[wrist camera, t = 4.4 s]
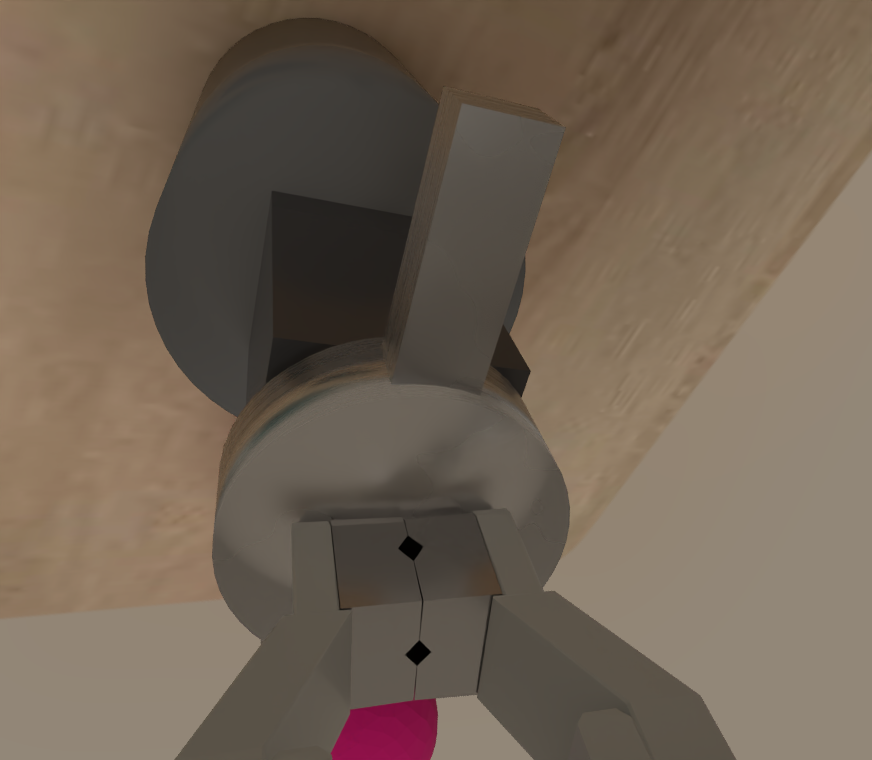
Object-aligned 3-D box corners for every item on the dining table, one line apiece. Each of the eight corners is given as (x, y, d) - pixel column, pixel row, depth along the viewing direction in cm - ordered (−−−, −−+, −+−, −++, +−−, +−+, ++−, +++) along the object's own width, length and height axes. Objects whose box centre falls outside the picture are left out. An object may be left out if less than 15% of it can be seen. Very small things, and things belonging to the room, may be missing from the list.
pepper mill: (285, 344, 34) (300, 753, 17) (417, 406, 37) (538, 804, 20) (212, 460, 37) (165, 917, 20) (342, 509, 40) (395, 941, 23)
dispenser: (208, -11, 27) (89, 122, 9) (451, 50, 29) (732, 249, 11) (185, 231, 31) (72, 648, 13) (399, 266, 33) (547, 656, 16)
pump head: (273, -7, 14) (279, 65, 7) (517, 55, 16) (726, 169, 9) (224, 372, 18) (195, 667, 11) (422, 395, 20) (512, 670, 12)
